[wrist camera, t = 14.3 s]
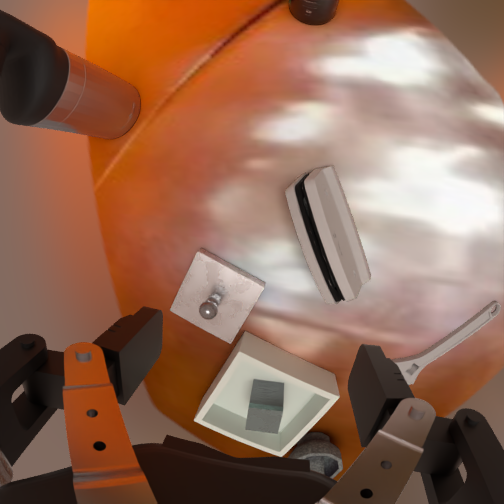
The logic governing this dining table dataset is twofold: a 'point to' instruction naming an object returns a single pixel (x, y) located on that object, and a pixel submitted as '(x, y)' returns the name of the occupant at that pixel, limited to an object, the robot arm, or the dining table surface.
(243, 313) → the stud plate
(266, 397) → the grey rectangular block
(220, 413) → the bin
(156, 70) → the dining table surface
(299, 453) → the mortar and pestle
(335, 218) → the napkin holder
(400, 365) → the adjustable wrench
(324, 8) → the supplement bottle
